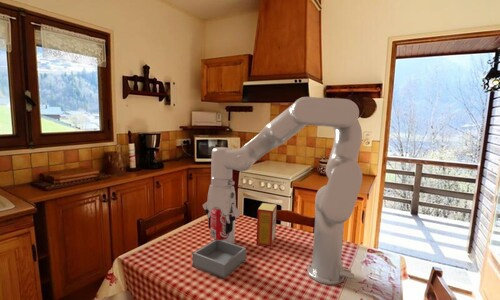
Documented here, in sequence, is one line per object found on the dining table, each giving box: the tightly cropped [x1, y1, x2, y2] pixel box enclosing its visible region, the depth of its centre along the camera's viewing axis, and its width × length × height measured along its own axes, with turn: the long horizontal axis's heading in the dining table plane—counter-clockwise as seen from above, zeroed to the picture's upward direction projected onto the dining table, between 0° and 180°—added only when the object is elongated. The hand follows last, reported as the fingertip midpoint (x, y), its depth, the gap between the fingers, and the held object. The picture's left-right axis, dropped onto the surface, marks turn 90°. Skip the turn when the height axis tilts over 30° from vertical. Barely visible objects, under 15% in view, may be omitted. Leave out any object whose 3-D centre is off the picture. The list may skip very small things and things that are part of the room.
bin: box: [191, 239, 247, 280], centre depth 96 cm, size 14×14×5 cm
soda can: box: [210, 207, 230, 241], centre depth 94 cm, size 7×7×12 cm
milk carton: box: [223, 213, 236, 244], centre depth 112 cm, size 7×7×19 cm
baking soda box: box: [256, 202, 278, 248], centre depth 115 cm, size 10×6×16 cm
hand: (220, 229), depth 95 cm, fingers closed on soda can, 7 cm apart
